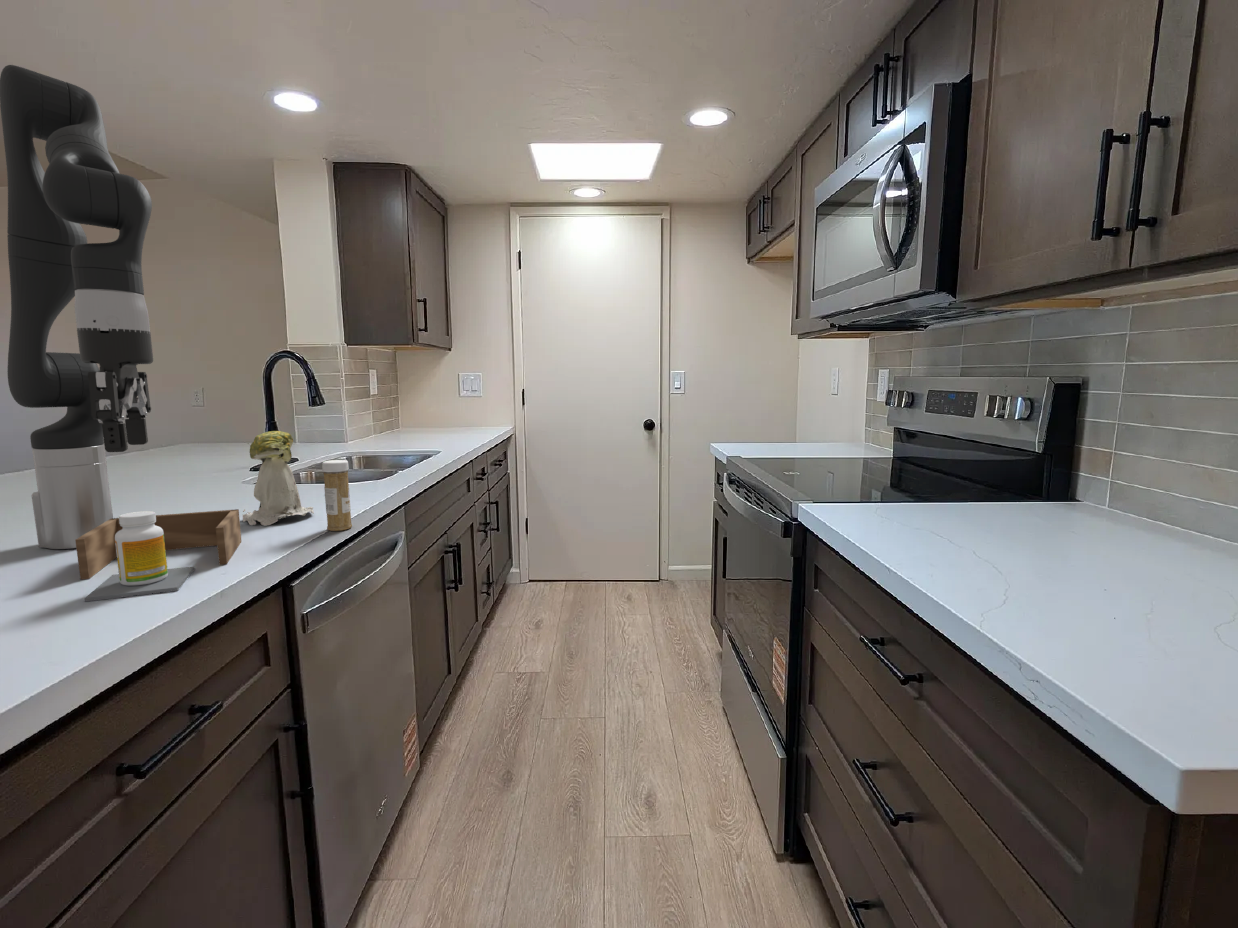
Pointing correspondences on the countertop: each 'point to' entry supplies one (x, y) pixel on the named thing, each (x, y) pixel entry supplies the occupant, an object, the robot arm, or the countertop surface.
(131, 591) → the grey mat
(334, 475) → the sprinkles bottle
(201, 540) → the open box
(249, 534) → the countertop surface
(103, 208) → the robot arm
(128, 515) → the supplement bottle
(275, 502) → the yellow capped ghost figurine
